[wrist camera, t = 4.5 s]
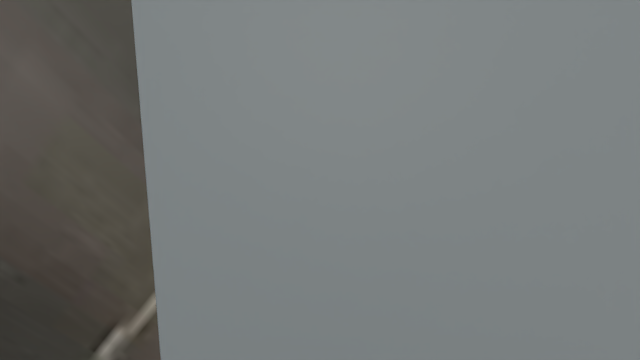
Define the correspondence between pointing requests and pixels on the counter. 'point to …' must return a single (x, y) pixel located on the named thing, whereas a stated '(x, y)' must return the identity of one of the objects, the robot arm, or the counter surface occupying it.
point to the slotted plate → (393, 178)
